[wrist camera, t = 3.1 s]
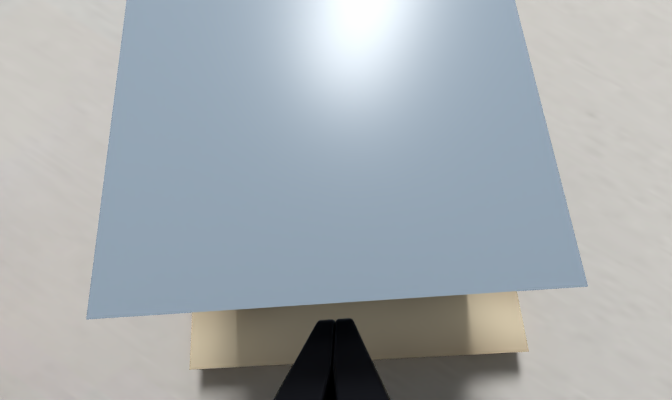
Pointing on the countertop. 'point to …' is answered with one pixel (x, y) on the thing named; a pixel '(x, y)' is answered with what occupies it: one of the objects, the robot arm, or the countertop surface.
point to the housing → (325, 158)
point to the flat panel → (362, 329)
